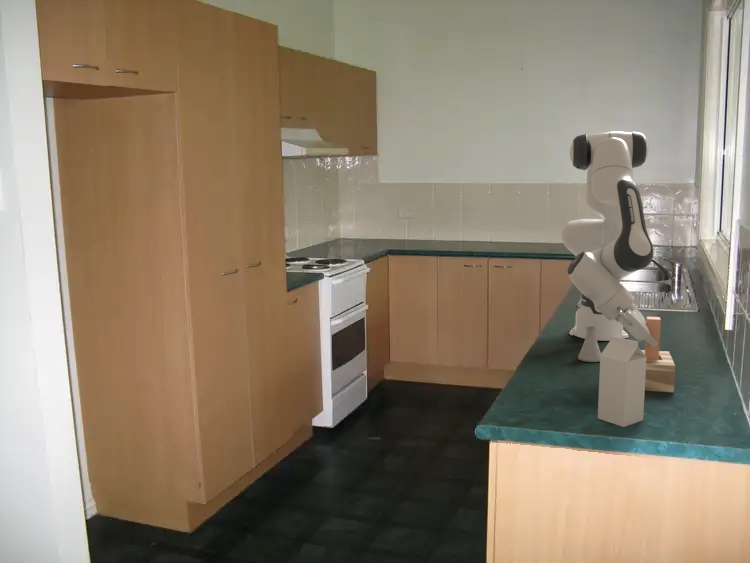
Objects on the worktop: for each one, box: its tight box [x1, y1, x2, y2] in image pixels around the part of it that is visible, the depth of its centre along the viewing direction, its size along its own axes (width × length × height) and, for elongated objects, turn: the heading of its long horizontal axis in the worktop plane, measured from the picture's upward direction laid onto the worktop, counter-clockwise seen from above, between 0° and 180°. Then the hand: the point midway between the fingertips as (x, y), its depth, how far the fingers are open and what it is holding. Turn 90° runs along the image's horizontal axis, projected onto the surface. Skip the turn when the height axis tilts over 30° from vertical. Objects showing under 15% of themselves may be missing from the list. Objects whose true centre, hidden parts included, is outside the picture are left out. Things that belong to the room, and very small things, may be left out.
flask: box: [577, 326, 602, 363], centre depth 216 cm, size 7×7×10 cm
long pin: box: [644, 316, 662, 360], centre depth 193 cm, size 3×3×15 cm
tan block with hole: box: [640, 349, 676, 393], centre depth 194 cm, size 14×10×7 cm
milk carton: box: [597, 336, 646, 428], centre depth 166 cm, size 7×7×19 cm
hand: (654, 342), depth 192 cm, fingers closed on long pin, 3 cm apart
